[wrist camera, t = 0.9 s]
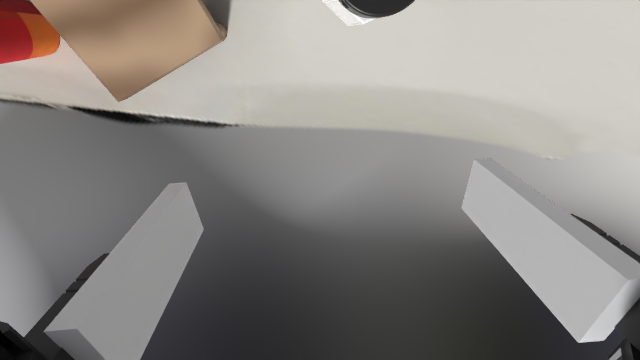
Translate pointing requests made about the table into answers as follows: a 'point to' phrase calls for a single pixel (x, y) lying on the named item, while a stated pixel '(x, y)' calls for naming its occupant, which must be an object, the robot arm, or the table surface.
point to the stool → (133, 37)
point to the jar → (365, 9)
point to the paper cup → (25, 32)
